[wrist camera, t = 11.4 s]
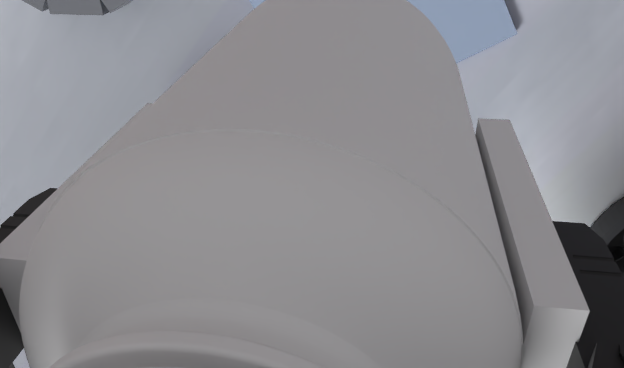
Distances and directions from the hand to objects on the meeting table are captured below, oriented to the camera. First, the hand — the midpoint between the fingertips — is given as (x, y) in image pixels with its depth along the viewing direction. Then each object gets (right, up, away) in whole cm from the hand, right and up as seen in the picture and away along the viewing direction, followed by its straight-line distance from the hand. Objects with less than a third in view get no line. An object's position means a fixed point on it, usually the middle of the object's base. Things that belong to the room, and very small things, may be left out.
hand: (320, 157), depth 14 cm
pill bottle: (+1, +2, +4) cm, 4 cm away
